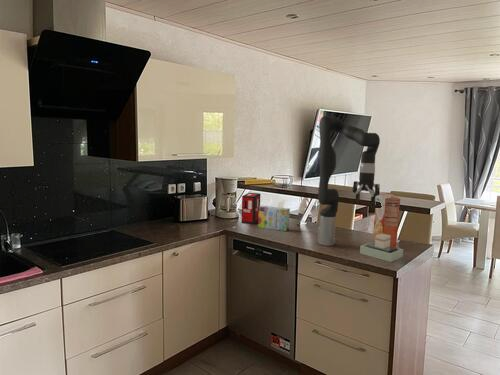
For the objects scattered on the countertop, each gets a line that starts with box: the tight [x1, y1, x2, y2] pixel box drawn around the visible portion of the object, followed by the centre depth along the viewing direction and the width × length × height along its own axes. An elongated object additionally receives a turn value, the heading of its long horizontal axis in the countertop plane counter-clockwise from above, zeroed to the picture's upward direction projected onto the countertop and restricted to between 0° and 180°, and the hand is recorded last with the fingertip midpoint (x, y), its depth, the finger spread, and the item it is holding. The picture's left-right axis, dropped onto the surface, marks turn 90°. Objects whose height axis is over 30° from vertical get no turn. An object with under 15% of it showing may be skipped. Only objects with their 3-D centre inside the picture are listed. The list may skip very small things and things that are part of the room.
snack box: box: [257, 204, 291, 232], centre depth 259 cm, size 21×6×15 cm, turn 63°
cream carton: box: [374, 234, 391, 249], centre depth 204 cm, size 5×7×6 cm
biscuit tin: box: [368, 243, 398, 253], centre depth 205 cm, size 12×9×5 cm
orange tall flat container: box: [372, 191, 401, 247], centre depth 228 cm, size 23×8×30 cm, turn 174°
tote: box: [359, 241, 404, 263], centre depth 206 cm, size 18×13×5 cm
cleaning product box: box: [241, 192, 261, 225], centre depth 279 cm, size 16×9×20 cm, turn 163°
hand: (365, 202), depth 199 cm, fingers open, 8 cm apart
